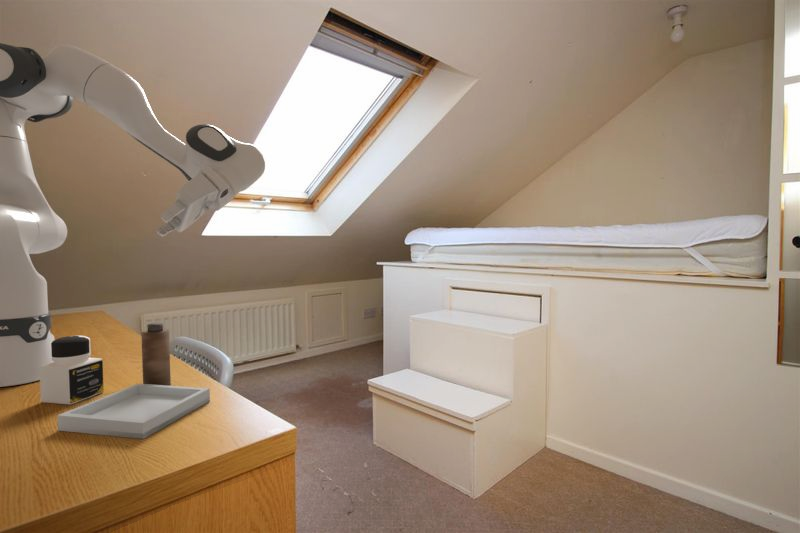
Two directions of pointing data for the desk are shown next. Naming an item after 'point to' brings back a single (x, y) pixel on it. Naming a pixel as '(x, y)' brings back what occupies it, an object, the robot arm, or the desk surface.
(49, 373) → the medicine bottle
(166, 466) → the desk surface
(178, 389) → the pale dish
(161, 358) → the walnut pepper mill
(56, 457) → the desk surface
